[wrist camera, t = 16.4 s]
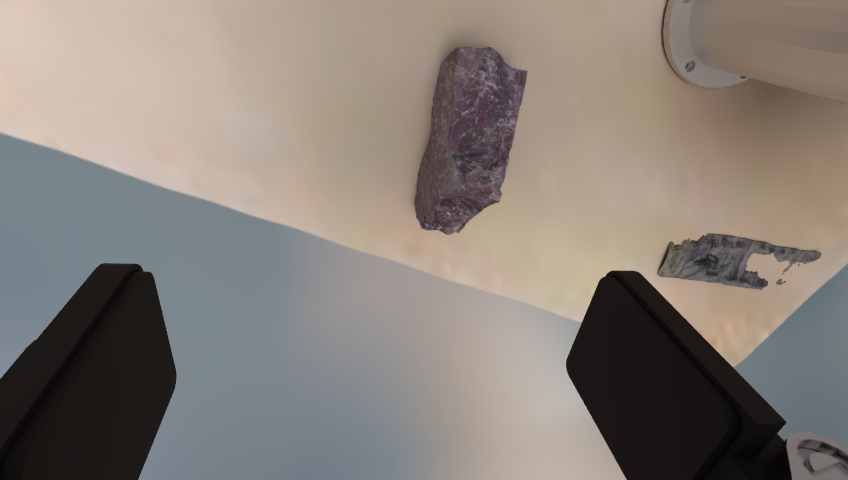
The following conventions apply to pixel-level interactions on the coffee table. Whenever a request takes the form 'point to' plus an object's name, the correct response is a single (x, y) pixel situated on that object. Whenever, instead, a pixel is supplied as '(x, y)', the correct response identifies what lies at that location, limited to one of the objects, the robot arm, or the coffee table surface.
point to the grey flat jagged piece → (726, 260)
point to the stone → (468, 138)
